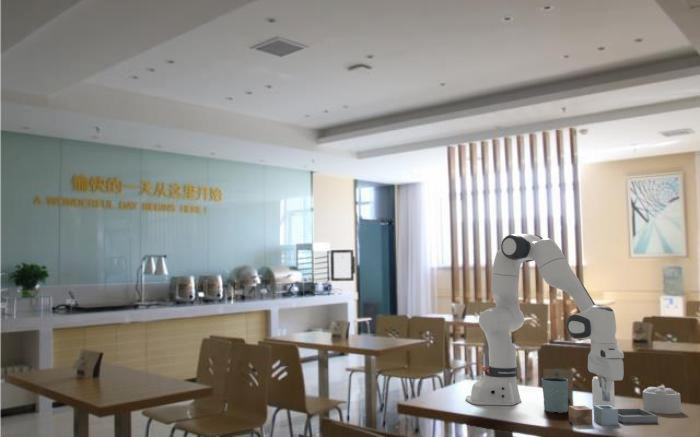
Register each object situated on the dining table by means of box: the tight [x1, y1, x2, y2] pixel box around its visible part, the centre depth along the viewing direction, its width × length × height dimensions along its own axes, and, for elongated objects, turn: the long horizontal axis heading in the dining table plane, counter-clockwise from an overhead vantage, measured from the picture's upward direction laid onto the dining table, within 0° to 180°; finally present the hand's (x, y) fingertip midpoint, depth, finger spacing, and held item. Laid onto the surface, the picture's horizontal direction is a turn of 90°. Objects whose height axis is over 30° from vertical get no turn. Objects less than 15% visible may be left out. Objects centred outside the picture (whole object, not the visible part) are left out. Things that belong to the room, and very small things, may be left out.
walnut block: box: [568, 405, 593, 426], centre depth 225 cm, size 6×6×6 cm
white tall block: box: [591, 376, 616, 408], centre depth 247 cm, size 8×8×12 cm
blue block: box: [593, 405, 619, 426], centre depth 226 cm, size 6×6×6 cm
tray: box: [617, 407, 659, 425], centre depth 230 cm, size 13×12×2 cm
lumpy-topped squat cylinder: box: [642, 385, 682, 415], centre depth 244 cm, size 10×13×9 cm
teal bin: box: [541, 376, 569, 414], centre depth 245 cm, size 10×10×12 cm
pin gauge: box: [601, 376, 610, 401], centre depth 226 cm, size 3×3×9 cm
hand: (605, 388), depth 226 cm, fingers closed on pin gauge, 3 cm apart
